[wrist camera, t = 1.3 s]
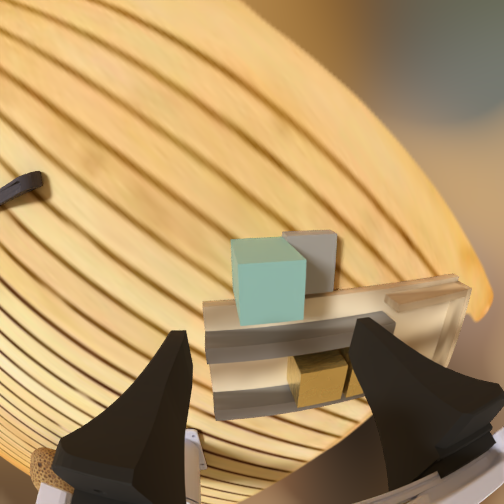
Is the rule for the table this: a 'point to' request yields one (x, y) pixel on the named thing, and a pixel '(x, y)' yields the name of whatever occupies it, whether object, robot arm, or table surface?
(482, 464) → the robot arm
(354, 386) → the yellow cube
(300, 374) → the golden brown cube
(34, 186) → the bracket
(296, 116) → the table surface
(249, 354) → the slot board
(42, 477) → the natural sponge
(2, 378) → the table surface
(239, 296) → the two-tone l-shaped block
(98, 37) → the table surface
